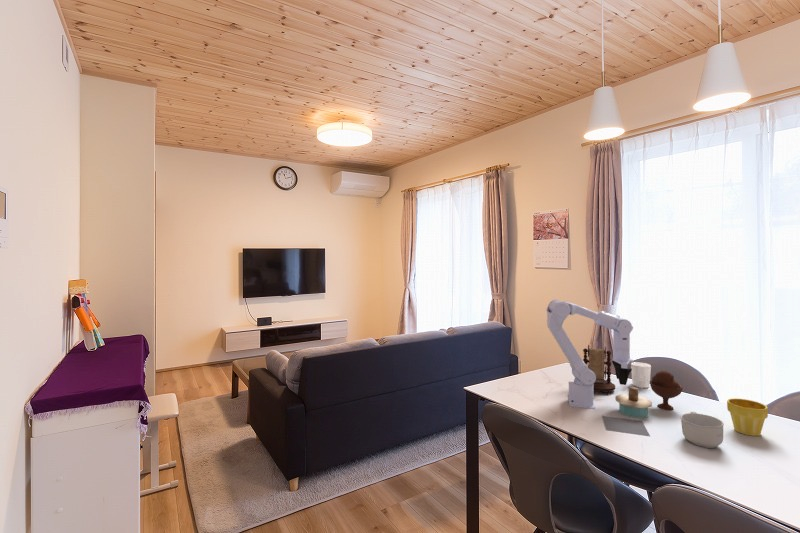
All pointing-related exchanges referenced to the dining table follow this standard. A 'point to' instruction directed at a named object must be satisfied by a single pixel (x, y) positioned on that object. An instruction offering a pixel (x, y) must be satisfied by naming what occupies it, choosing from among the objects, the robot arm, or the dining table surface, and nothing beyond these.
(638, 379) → the white cup
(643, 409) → the bowl
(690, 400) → the dining table surface
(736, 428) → the plant pot
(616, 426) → the mat
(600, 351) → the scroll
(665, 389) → the ice cream bowl
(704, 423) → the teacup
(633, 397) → the lid
